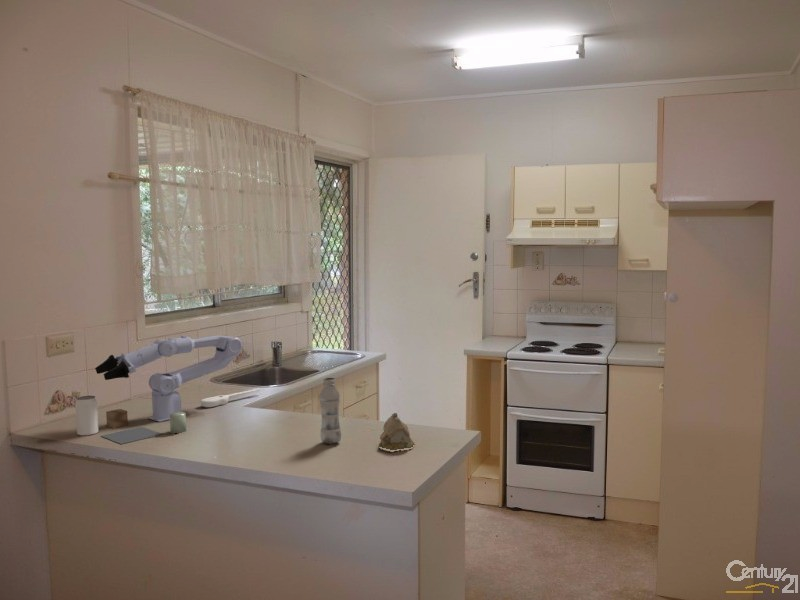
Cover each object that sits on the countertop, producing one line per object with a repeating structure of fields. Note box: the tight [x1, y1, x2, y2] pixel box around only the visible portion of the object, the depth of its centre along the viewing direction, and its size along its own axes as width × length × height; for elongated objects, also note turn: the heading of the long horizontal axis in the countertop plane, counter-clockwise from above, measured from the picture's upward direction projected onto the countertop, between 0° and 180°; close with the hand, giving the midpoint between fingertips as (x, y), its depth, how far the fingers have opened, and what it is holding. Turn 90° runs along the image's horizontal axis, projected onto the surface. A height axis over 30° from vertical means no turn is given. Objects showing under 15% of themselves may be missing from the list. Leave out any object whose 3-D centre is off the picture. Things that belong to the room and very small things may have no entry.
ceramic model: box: [378, 412, 416, 450], centre depth 208 cm, size 14×11×10 cm
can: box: [74, 395, 99, 437], centre depth 226 cm, size 6×6×12 cm
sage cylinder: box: [169, 411, 187, 434], centre depth 226 cm, size 5×5×6 cm
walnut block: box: [105, 408, 129, 429], centre depth 236 cm, size 5×5×5 cm
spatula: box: [199, 387, 263, 408], centre depth 268 cm, size 28×6×3 cm, turn 140°
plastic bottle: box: [319, 377, 342, 445], centre depth 210 cm, size 6×7×20 cm
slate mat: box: [100, 426, 163, 445], centre depth 223 cm, size 14×14×1 cm
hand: (100, 374), depth 229 cm, fingers open, 7 cm apart
